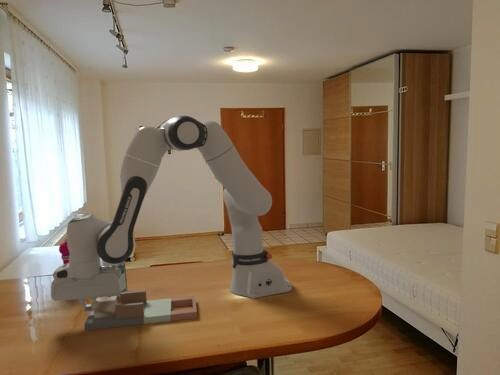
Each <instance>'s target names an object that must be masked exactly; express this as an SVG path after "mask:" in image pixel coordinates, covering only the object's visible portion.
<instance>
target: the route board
mask: <svg viewBox="0 0 500 375" xmlns="http://www.w3.org/2000/svg"><path fill="white" fill-rule="evenodd" d="M181 306H182V307H183V306H184V307H185V306H192V308H189V309H179V310H172V308H174V307H175V308H176V307H181ZM197 312H198V310H197V302H196V295H189V296H181V297H180V296H178V297H170V298H161V299H151V300H147V290H144V289H143V290H133V291H127V292H122V293H120V302H119V303H117V305H116V314H115V316H109V317H100V318H94V311H89V314H88V316H87V318H86V320H85V322H84V331H93V330H101V329H109V328H117V327H118V328H120V327H128V326H135V325H136V326H137V325H146V324H154V323H162V322H163V323H165V322H171V321H172V322H173V321H179V320H180V321H181V320H182V321H183V320H190V319H197V318H198V313H197Z"/></svg>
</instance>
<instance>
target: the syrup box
mask: <svg viewBox="0 0 500 375" xmlns="http://www.w3.org/2000/svg"><path fill="white" fill-rule="evenodd" d="M101 260H102V259H101ZM101 262H102V266H112V265H115V266H116V267H119V268H120V269H121V277H120V280H121V285H122V290H121V292H120V293H122V292H129V290H128V280H127V270H126V260H125V261H124V262H121V263H118V264H110V263H107V262H105V261H103V260H102V261H101ZM115 296H117V298H121V296H120V294H119V295H115ZM111 297H112V296H111Z"/></svg>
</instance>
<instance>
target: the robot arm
mask: <svg viewBox="0 0 500 375" xmlns="http://www.w3.org/2000/svg"><path fill="white" fill-rule="evenodd" d="M193 149H197V150H198V151H199V152H200V153H201V156H202V157H203V159H204V161H205V162H206V164H207V165H208V167H209V169H210V170H211V172H212V175H214V178H215V179H216V180H217V181H218V183H220V184H221V186H223V188H224V189H223V192H222V199H223V202H224V204H225V207H226V212H227V214H228V215H227V216H228V219H229V223H230V228H231V237H232V238H231V240H232V251H231V266H232V276H231V278H232V279H231V283H230V287H229V290H230V292H231V293H232V294H235V295H237V296H243V297H248V298H251V299H257V298H263V297H268V296H273V295H277V294H283V293H288V292H291V291H292V289H293V286H292V283H291V282H290V281H289V280H288V279H287V278H286V277H285V273H284V271H283V269H282V268H281V267H280V266H279V265H278V264H276V263H275V262H274V261H271V259H273V254H272V253H271V252H269V251H268V250H267V249H264V238H263V237H264V232H263V227H262V225H261V223H260V222H259V221H260V220H259V217H261V216H265V215H266V214H267V213H268V212H269V211H270V210H271V207H272V205H273V197H272V195H271V193H270V191H268V190H267V189H266V188H265V187H264V186H263V185H262V184H261V183H260V181H259V180H258V178H257V177H256V176H255V175H254V173H252V171H251V170H250V169H249V167H247V165H246V163H245V162H244V161H243V159H242V157H241V156H240V154H239V152H238V150H237V148H236V146H235V144H234V143H233V142H232V140H231V138H230V137H229V135H228V134H227V132H226V131H225V130H224V128H223V127H222V126H221V125H220V124H219V123H218V122H216V121H214V120H208V121H204V122H203V123H202V122H201V121H199V120H197V119H196V118H194V117H192V116H189V115H176V116H173V117H171V118H169V119H166V120H165V121H164V122H162V123H161V124H160V125H158V126H157V127H154V126H151V125H145V126H141V127H139V128H138V129H137V130H136V132H135V134H134V135H133V136H132V139H131V140H130V143H129V144H128V147H127V149H126V152H125V154H124V156H123V160H122V163H121V168H120V175H119V177H120V184H121V185H120V187H121V192H120V194H121V195H120V199H119V202H118V204H117V208H116V210H115V214H114V217H113V218H112V221H108V220H105V219H102V218H99V217H97V216H95V215H94V214H88V213H87V214H83V215H79V216H76V217H73V218H72V219H70V220H69V222H68V224H67V227H66V238H67V246H68V249H69V252H70V256H69V263H67V264H64V265H63V264H62V265H60V266H58V267H57V268H56V269H55V270H54V271H53V272H52V277H53V280H52V281H51V285H50V297H51V299H52V300H53V301H54V302H62V301H63V302H64V301H72V300H78V303H79V304H80V305H81V306H82V308H83V312H84V313H87V312H91V311H94V309H93V305H94V303H95V301H96V299H97V298H102V297H109V296H115V295H119V294H120V292H121V290H122V285H121V280H120V277H121V269H120V268H119V267H116V266H115V265H112V266H103V265H101V260H103V261H105V262H107V263H110V264H118V263H121V262H124V261H125V262H126V260H129V258H130V257H131V256H132V254H133V251H134V230H135V229H134V228H135V226H136V223H137V219H138V217H139V214H140V211H141V209H142V208H141V207H142V205H143V202H144V199H145V197H146V195H147V193H148V192H149V191H150V190H149V189H150V187H151V186H152V184H153V182H154V179H155V177H156V176H157V173H158V171H159V168H160V165H161V162H162V160H163V157H164V156H165V154H166V153H167V152H168V151H169V150H174V151H178V152H179V151H180V152H181V151H191V150H193ZM86 299H90V301H91V303H89V304H88V303H86V301H85V300H86Z"/></svg>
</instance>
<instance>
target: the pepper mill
mask: <svg viewBox="0 0 500 375" xmlns="http://www.w3.org/2000/svg"><path fill="white" fill-rule="evenodd" d="M58 251H59V253H60V254H61V255H60V257H61V258H60V259H61V260H62V262H63V264H62V265H64V264H67V263H69V256H70V252H69V249H68V246H67V237H65V238H64V242H62V243H61V244H60V245H59V248H58Z"/></svg>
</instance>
